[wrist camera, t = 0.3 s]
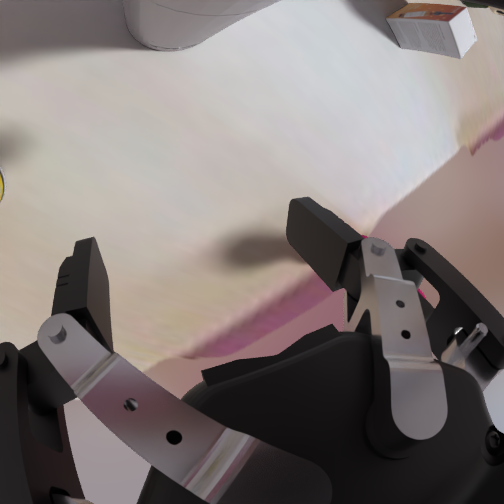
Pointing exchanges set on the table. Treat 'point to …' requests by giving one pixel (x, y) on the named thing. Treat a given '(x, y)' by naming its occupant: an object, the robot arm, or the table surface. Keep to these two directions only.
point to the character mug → (475, 5)
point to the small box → (433, 28)
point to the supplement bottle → (2, 184)
